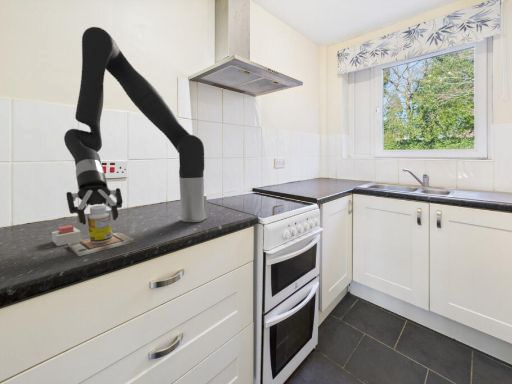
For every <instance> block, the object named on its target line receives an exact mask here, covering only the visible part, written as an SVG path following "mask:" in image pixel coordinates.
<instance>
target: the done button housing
mask: <svg viewBox="0 0 512 384" xmlns="http://www.w3.org/2000/svg"><path fill="white" fill-rule="evenodd" d="M73 231H74V232H70V233H65V234H59V230H56V231H51V238H52V242H53V244H55V245H56V246H57V247H60V246H64V245H68V243H73V242H78V241H82V240H83V238H82V231H81V230H79V229H78V228H76V227H73Z"/></svg>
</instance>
